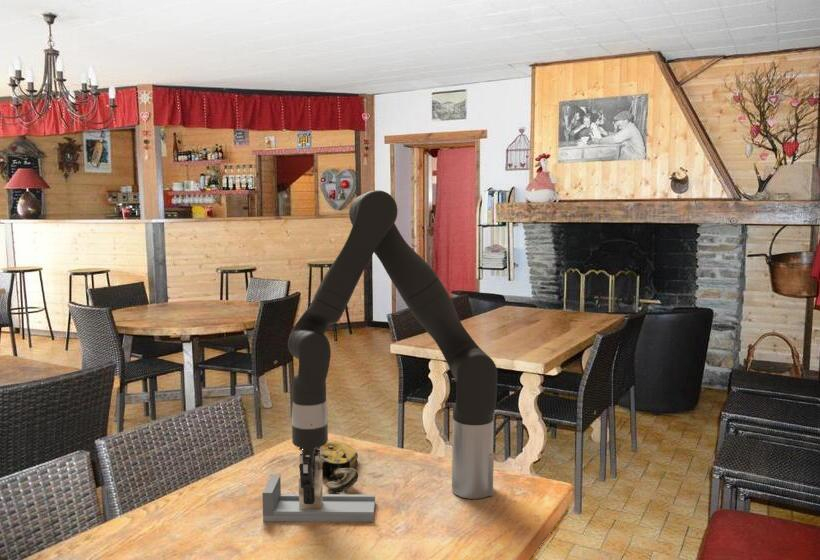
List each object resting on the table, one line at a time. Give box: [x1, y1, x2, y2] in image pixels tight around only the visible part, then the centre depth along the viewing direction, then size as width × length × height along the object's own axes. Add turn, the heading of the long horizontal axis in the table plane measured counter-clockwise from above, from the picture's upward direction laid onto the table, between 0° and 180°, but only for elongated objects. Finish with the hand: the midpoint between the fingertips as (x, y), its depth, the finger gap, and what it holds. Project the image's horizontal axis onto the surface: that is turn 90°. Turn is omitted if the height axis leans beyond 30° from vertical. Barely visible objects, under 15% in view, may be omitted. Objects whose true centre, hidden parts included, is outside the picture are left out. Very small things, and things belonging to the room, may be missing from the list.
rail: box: [262, 474, 376, 523], centre depth 146 cm, size 23×9×6 cm, turn 90°
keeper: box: [298, 470, 324, 510], centre depth 146 cm, size 4×4×7 cm
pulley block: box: [298, 439, 359, 494], centre depth 168 cm, size 14×6×30 cm
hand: (310, 497), depth 146 cm, fingers closed on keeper, 4 cm apart
